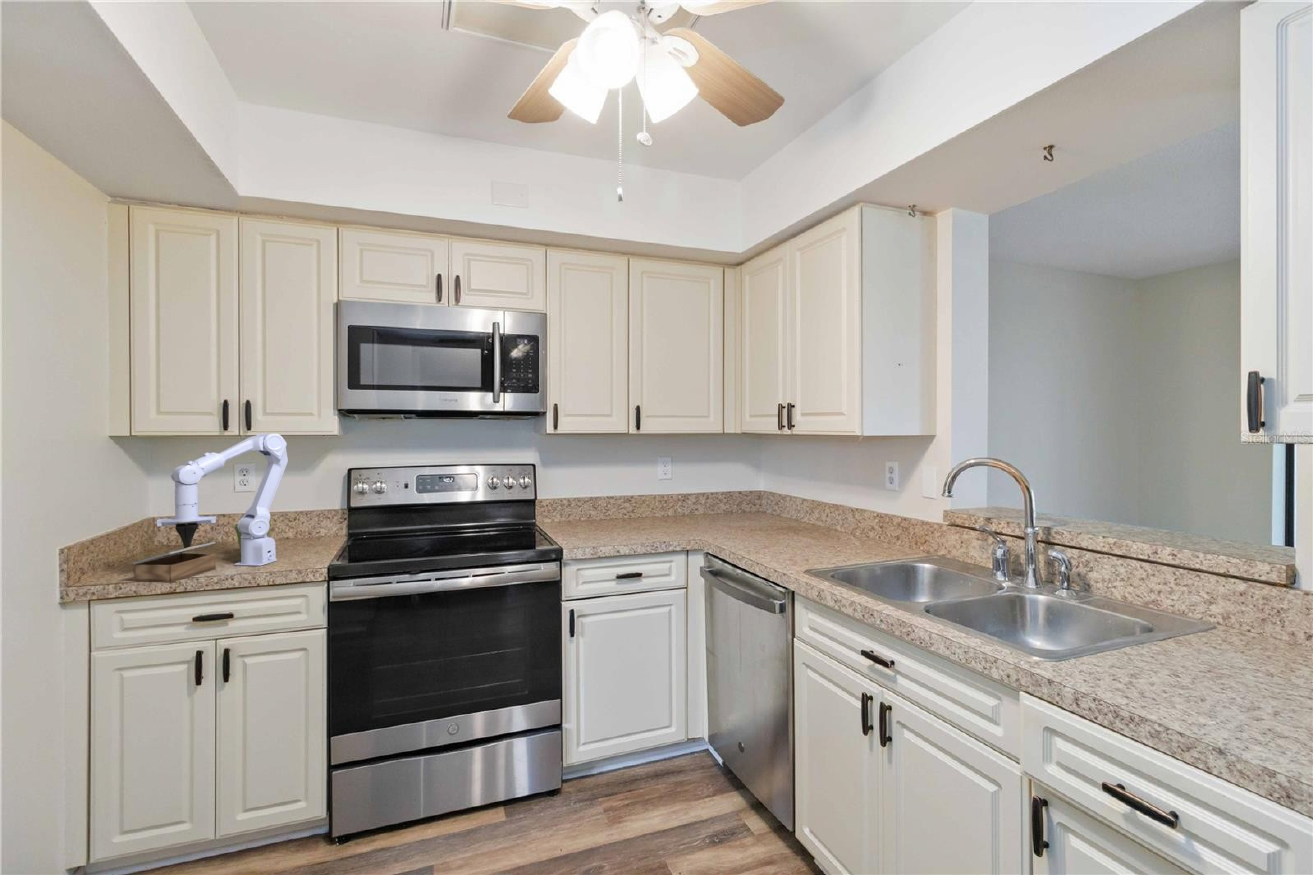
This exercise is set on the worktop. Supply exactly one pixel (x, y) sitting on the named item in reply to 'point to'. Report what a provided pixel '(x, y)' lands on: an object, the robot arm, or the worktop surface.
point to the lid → (173, 552)
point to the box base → (174, 567)
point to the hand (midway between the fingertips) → (187, 547)
